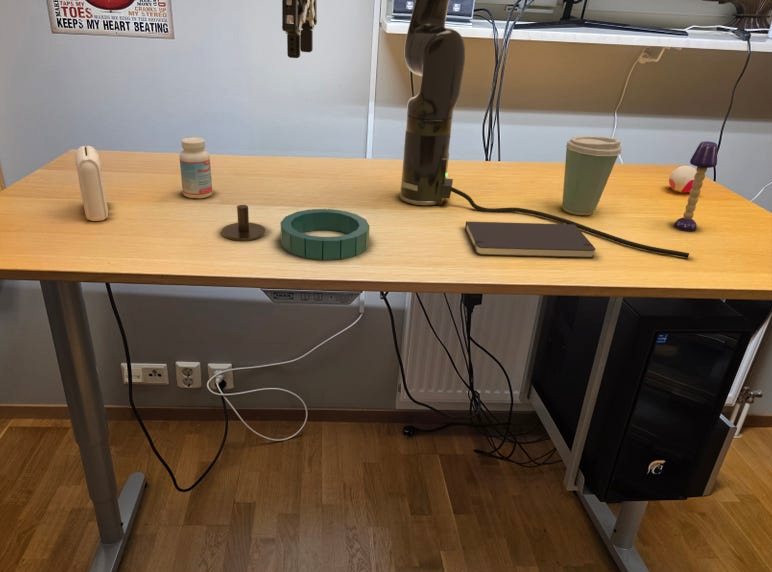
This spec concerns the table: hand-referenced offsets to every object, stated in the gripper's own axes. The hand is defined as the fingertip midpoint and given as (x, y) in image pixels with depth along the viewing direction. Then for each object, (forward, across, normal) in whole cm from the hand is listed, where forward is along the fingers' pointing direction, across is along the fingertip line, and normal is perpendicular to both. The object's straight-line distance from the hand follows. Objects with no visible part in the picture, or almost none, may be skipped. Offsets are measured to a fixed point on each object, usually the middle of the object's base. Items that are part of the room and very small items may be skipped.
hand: (300, 54), depth 121 cm
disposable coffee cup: (+28, +13, -57) cm, 65 cm away
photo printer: (+28, -18, +36) cm, 49 cm away
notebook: (+28, -9, -46) cm, 55 cm away
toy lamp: (+28, +9, -77) cm, 83 cm away
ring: (+28, -20, -10) cm, 36 cm away
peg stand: (+28, -20, +6) cm, 35 cm away
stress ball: (+28, +34, -82) cm, 93 cm away
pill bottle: (+28, -2, +22) cm, 36 cm away
